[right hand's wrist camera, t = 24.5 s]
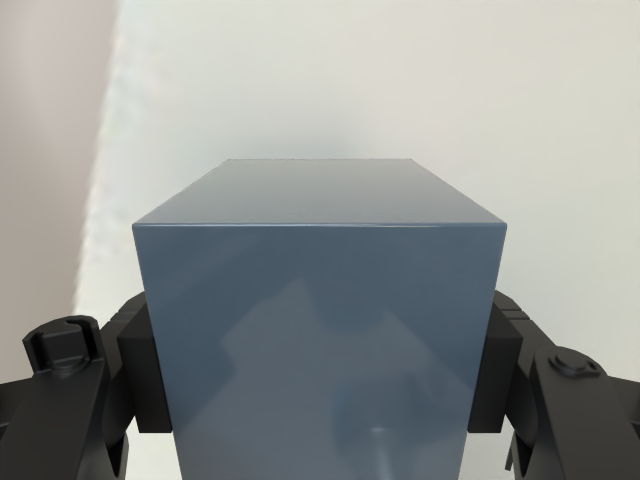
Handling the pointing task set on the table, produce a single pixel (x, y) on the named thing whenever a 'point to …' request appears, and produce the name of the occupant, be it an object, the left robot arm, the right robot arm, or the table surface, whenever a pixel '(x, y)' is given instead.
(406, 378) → the grey cube
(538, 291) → the table surface
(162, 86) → the table surface
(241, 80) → the table surface
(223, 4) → the table surface
